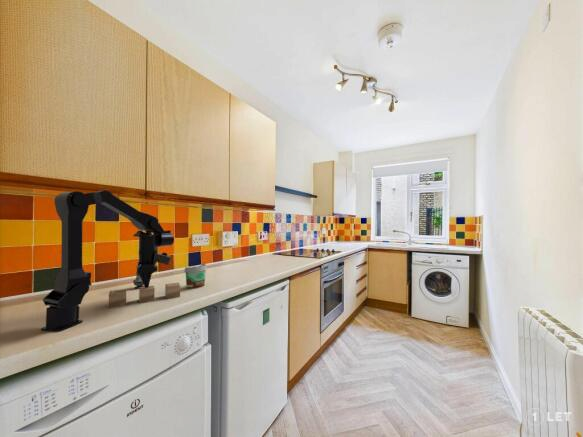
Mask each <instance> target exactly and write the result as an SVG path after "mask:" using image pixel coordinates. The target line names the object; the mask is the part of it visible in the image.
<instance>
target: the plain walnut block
mask: <svg viewBox="0 0 583 437" xmlns="http://www.w3.org/2000/svg"><path fill="white" fill-rule="evenodd" d="M138 290H139V292H138V293H139V294H138V300H139V301H138V304H142V303H150V302H155V292H156V291H155V286H154V285H149V287H147V288H145V287H139V289H138Z"/></svg>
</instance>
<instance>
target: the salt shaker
mask: <svg viewBox="0 0 583 437" xmlns="http://www.w3.org/2000/svg"><path fill="white" fill-rule="evenodd" d="M135 274H136V277H135V279H133V280H132V282H133V285H134V287H133V288H132V290H139V287H145V286H144V284H143V282H142V280H141V277H140V275H139V273H138V264H137V265H136V272H135Z"/></svg>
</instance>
